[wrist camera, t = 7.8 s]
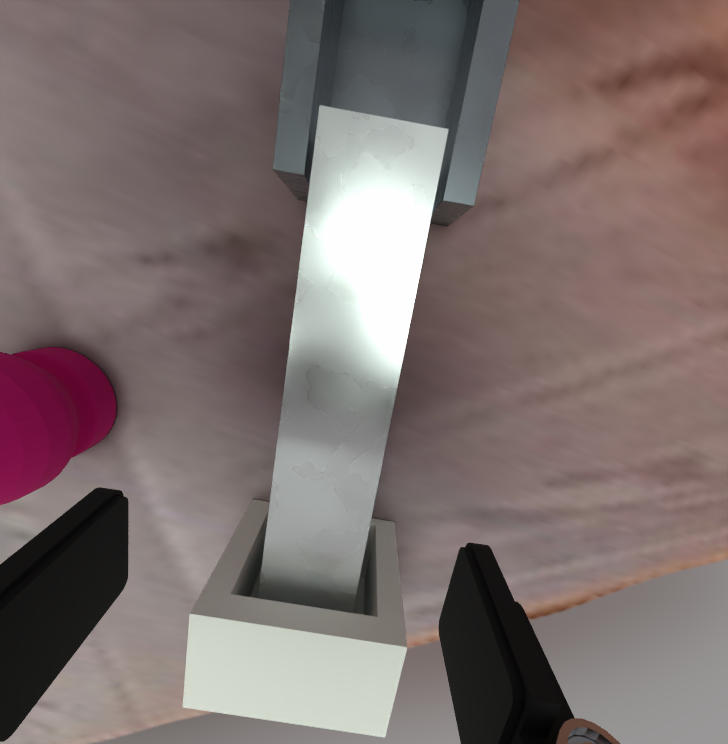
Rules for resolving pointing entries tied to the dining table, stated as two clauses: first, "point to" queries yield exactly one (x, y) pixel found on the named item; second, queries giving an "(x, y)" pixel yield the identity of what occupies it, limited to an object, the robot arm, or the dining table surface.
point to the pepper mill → (48, 415)
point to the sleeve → (396, 80)
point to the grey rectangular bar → (346, 348)
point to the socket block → (297, 641)
